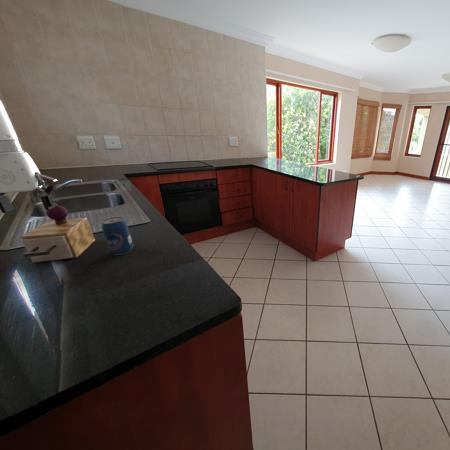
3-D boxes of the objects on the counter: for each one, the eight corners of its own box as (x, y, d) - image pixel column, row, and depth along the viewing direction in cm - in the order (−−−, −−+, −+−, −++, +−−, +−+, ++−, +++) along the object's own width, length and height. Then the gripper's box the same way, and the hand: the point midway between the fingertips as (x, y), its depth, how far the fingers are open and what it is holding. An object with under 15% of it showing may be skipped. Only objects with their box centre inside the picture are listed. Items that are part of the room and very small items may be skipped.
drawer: (62, 265, 74) (52, 243, 71) (20, 271, 71) (8, 248, 68) (89, 240, 90) (82, 222, 87) (55, 244, 87) (47, 225, 84)
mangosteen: (47, 226, 81) (39, 207, 78) (57, 221, 85) (49, 202, 82) (66, 224, 82) (58, 206, 79) (74, 219, 87) (67, 201, 84)
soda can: (106, 256, 81) (95, 224, 76) (116, 247, 87) (106, 217, 83) (129, 255, 82) (119, 223, 78) (137, 245, 89) (128, 215, 84)
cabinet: (77, 257, 80) (66, 232, 77) (33, 262, 77) (20, 236, 73) (95, 240, 92) (86, 217, 89) (58, 244, 89) (48, 220, 85)
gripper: (-61, 150, 56) (-22, 217, 62) (32, 148, 60) (58, 211, 67) (-30, 147, 62) (2, 208, 69) (51, 145, 67) (73, 203, 73)
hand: (30, 209), depth 68 cm, fingers open, 9 cm apart
